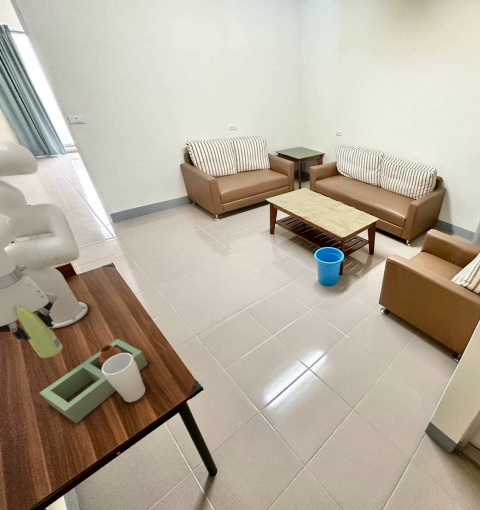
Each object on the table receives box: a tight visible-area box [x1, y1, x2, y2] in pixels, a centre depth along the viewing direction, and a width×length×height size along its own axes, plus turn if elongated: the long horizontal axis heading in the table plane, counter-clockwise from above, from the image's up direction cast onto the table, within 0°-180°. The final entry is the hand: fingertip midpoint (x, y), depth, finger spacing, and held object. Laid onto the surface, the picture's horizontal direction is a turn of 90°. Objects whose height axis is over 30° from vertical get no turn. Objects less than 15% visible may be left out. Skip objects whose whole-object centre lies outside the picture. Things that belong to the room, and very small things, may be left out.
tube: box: [16, 305, 64, 359], centre depth 71 cm, size 6×5×20 cm
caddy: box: [39, 338, 148, 424], centre depth 79 cm, size 11×20×6 cm, turn 157°
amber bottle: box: [98, 344, 122, 366], centre depth 81 cm, size 5×5×11 cm
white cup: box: [102, 353, 146, 403], centre depth 75 cm, size 7×7×15 cm
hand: (36, 331), depth 72 cm, fingers closed on tube, 4 cm apart
